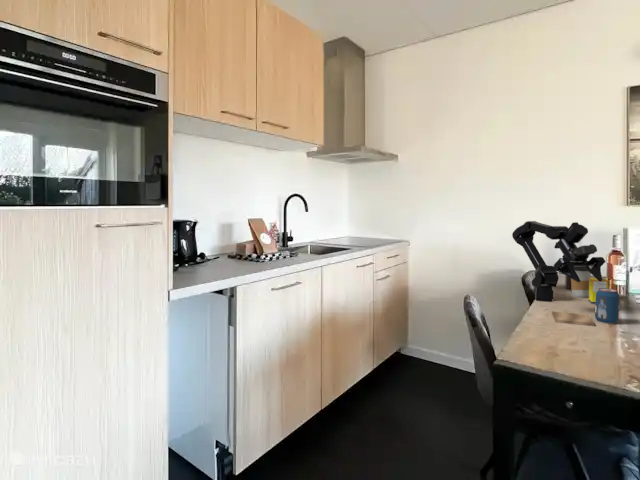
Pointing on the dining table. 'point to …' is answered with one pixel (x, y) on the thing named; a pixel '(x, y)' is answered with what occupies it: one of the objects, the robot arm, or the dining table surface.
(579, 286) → the coffee cup
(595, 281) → the supplement box
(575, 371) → the dining table surface
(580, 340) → the dining table surface
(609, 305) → the soda can
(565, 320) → the tan flat square slab
